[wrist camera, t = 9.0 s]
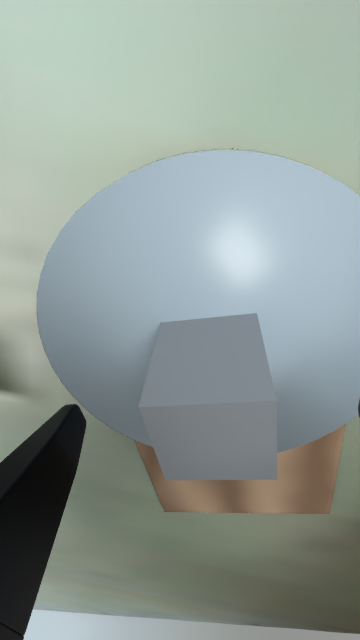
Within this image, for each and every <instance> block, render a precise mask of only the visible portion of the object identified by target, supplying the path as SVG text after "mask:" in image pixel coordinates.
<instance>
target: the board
mask: <svg viewBox="0 0 360 640" xmlns="http://www.w3.org/2000/svg"><path fill="white" fill-rule="evenodd" d="M345 425H346V424H345ZM345 425H343V426H341V427H340V428H338V429H337V430H335V431H333V432H331V433H329V434H327V435H325V436H323V437H321V438H319V439H317V440H315V441H312V442H310V443H307V444H305V445H302V446H299V447H296V448H293V449H290V450H286V451H283V452H278V453H277V480H165V478H164V475H163V472H162V469H161V467H160V464H159V461H158V459H157V456H156V453H155V451H154V448H153V447H151V446H149V445H146V444H143V443H141V442H138V441H136V440H135V442H136V445H137V447H138V450H139V452H140V454H141V457H142V459H143V461H144V464H145V466H146V469H147V471H148V473H149V476H150V478H151V480H152V483H153V485H154V488H155V490H156V492H157V495H158V497H159V499H160V502H161V504H162V507H163V509H164V511H165V512H217V513H296V514H330V511H331V505H332V499H333V494H334V488H335V482H336V476H337V471H338V465H339V459H340V454H341V448H342V442H343V436H344V431H345Z"/></svg>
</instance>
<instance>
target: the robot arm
mask: <svg viewBox="0 0 360 640" xmlns="http://www.w3.org/2000/svg"><path fill="white" fill-rule="evenodd" d="M358 413H359V417H360V399H359V404H358ZM85 429H86V419H85V417H84V415H83V413H82V412H81V410H80V408H79V406H78V405H76V404H70V405H65V406H63V407H62V408H61V409H60V410H59V411H58V412H56V413H55V414H54V415H53V416H52V417H51V418H50V419H49V420H48V421H46V422H45V423H44V424H43V425H42V426H41V427H40V428H39V429H38V430H36V431H35V432H34V433H33V434H32V435H31V436H30V437H29V438H27V439H26V440H25V441H24V442H23V443H22V444H21V445H20V446H19V447H17V448H16V449H15V450H14V451H13V452H12V453H11V454H10V455H9V456H7V457H6V458H5V459H4V460H3V461H2V462H1V463H0V640H23V639H24V636H23V635H24V634H25V632H26V629H27V625H28V622H29V619H30V616H31V613H32V610H33V606H34V603H35V600H36V597H37V594H38V591H39V588H40V584H41V581H42V578H43V575H44V572H45V569H46V566H47V562H48V559H49V556H50V553H51V550H52V547H53V543H54V540H55V537H56V534H57V531H58V528H59V525H60V521H61V518H62V515H63V512H64V509H65V506H66V503H67V499H68V496H69V493H70V490H71V487H72V484H73V480H74V477H75V474H76V471H77V467H78V462H79V458H80V453H81V448H82V443H83V439H84V434H85Z"/></svg>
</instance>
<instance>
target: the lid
mask: <svg viewBox="0 0 360 640" xmlns="http://www.w3.org/2000/svg"><path fill="white" fill-rule="evenodd" d="M37 320H38V327H39V333H40V337H41V340H42V343H43V347H44V350H45V353H46V355H47V357H48V359H49V361H50V364H51V366H52V368H53V369H54V371H55V373H56V374H57V376H58V377H59V379H60V381H61V382H62V383H63V385H64V386H65V387H66V388H67V390H68V391H69V392H70V393H71V395H72V396H73V397H74V398H75V399H76V400H77V401H78V402H79V403H80V404H81V405H82V406H83V407H84V408H85V409H86V410H88V411H89V412H90V413H91V414H92V415H94V416H95V417H96V418H97V419H99V420H100V421H102V422H103V423H105V424H106V425H108V426H109V427H111V428H112V429H114V430H116V431H118V432H120V433H121V434H123V435H125V436H127V437H129V438H131V439H134V440H136V441H138V442H141V443H143V444H146V445H149V446H151V447H153V448H154V451H155V453H156V456H157V459H158V461H159V464H160V467H161V469H162V472H163V475H164V478H165V480H277V453H278V452H283V451H286V450H290V449H293V448H296V447H299V446H302V445H305V444H307V443H310V442H312V441H315V440H317V439H319V438H321V437H323V436H325V435H327V434H329V433H331V432H333V431H335V430H337V429H338V428H340V427H341V426H343V425H345V424H346V423H348V422H349V421H351V420H352V419H353V418H355V417H356V416H357V415H358V414H359V413H358V404H359V399H360V196H359V195H358V194H357V193H355V192H354V191H353V190H351V189H350V188H349V187H348V186H346V185H345V184H343V183H341V182H339V181H337V180H335V179H333V178H332V177H330V176H328V175H326V174H324V173H322V172H320V171H319V170H317V169H314V168H312V167H310V166H308V165H305V164H302V163H299V162H296V161H294V160H291V159H288V158H285V157H282V156H279V155H274V154H268V153H263V152H257V151H252V150H237V149H212V150H204V151H195V152H187V153H183V154H179V155H175V156H172V157H168V158H164V159H161V160H157V161H155V162H152V163H150V164H148V165H146V166H143V167H141V168H139V169H137V170H134V171H132V172H130V173H128V174H127V175H125V176H123V177H122V178H120V179H119V180H117V181H115V182H114V183H112V184H111V185H109V186H108V187H106V188H105V189H103V190H101V191H100V192H98V193H97V194H96V195H95V196H93V197H92V198H91V199H90V200H89V201H88V202H87V203H86V204H84V205H83V206H82V207H81V208H80V209H79V210H78V211H77V212H76V213H75V214H74V215H73V216H72V218H71V219H70V220H69V221H68V223H67V224H66V225H65V226H64V228H63V229H62V230H61V231H60V233H59V235H58V236H57V238H56V240H55V242H54V243H53V245H52V247H51V249H50V251H49V252H48V255H47V258H46V260H45V263H44V266H43V269H42V272H41V275H40V280H39V286H38V292H37Z"/></svg>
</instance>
